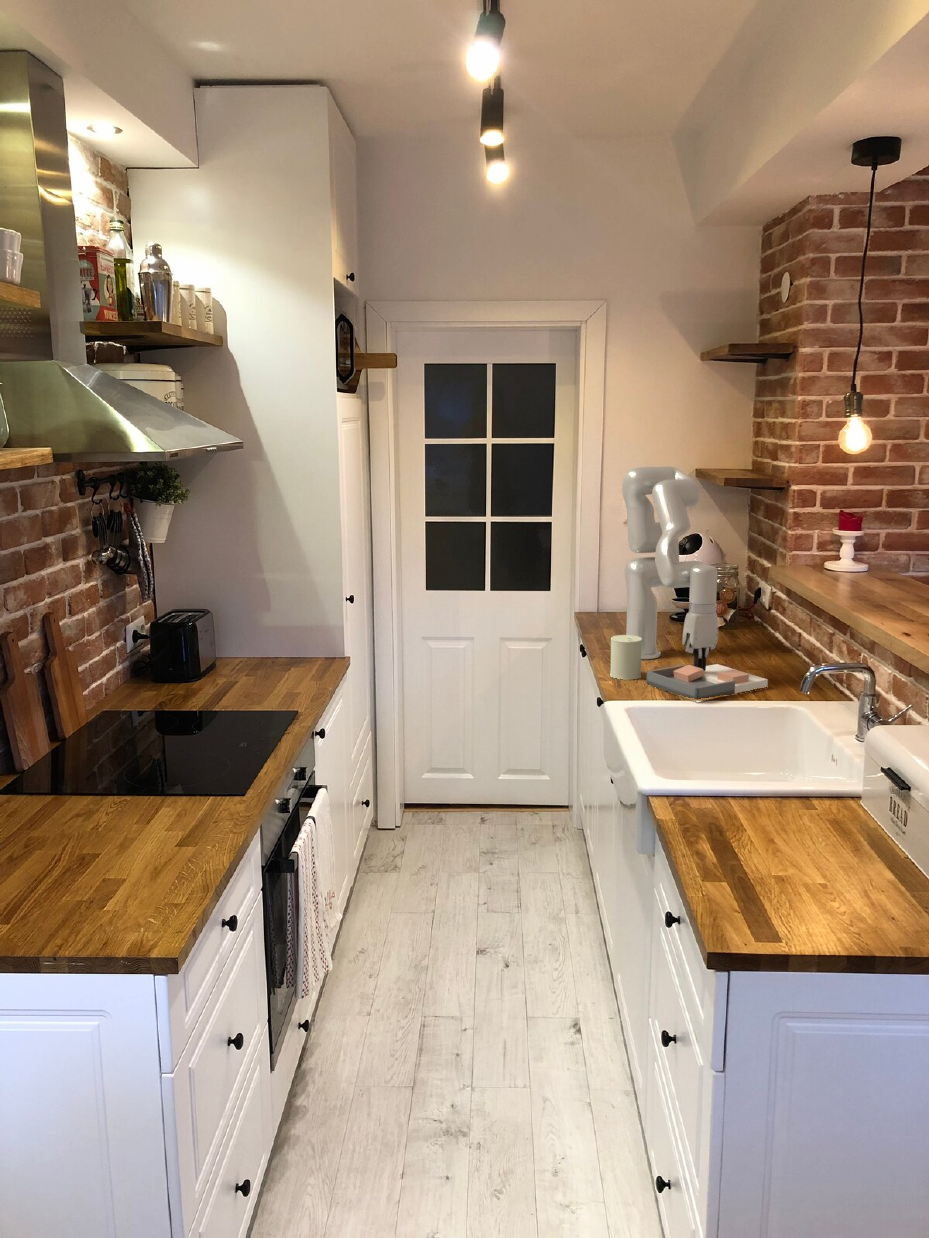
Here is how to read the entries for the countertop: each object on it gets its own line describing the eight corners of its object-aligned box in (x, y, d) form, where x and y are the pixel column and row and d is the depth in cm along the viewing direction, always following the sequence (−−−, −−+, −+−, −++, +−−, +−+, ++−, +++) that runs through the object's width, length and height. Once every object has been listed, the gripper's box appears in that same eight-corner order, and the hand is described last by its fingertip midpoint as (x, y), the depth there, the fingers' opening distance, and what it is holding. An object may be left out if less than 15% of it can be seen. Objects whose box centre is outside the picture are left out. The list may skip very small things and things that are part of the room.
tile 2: (717, 679, 276) (717, 672, 275) (732, 676, 278) (733, 669, 278) (732, 684, 270) (733, 677, 270) (748, 681, 273) (748, 674, 273)
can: (617, 681, 284) (618, 641, 281) (604, 673, 292) (605, 634, 290) (646, 678, 286) (647, 639, 284) (633, 670, 295) (634, 632, 292)
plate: (684, 678, 286) (684, 669, 286) (716, 672, 293) (717, 664, 292) (733, 694, 269) (734, 686, 269) (767, 687, 276) (767, 679, 275)
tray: (646, 684, 280) (646, 671, 279) (683, 677, 286) (683, 664, 286) (696, 702, 262) (697, 688, 261) (734, 695, 269) (735, 681, 268)
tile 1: (674, 677, 282) (673, 670, 281) (689, 670, 284) (688, 664, 284) (688, 682, 277) (687, 675, 276) (704, 675, 279) (703, 669, 279)
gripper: (712, 603, 285) (709, 664, 289) (673, 609, 278) (671, 671, 282) (730, 607, 279) (727, 669, 283) (692, 613, 272) (689, 676, 276)
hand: (699, 670), depth 282 cm, fingers closed
